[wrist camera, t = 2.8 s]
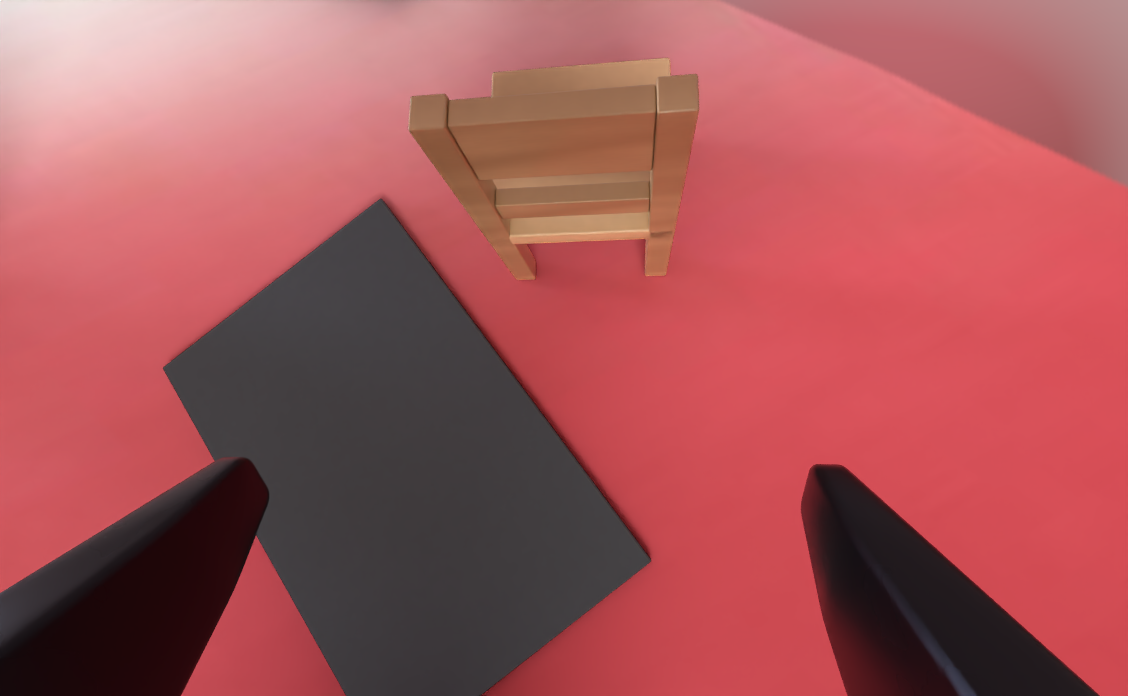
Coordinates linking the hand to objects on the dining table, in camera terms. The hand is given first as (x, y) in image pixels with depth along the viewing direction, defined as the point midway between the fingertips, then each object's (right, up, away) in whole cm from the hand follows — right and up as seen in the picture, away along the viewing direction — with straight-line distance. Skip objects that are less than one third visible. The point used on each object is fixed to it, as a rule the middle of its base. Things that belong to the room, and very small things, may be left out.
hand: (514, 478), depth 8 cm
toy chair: (+2, +8, +15) cm, 17 cm away
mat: (-7, -3, +14) cm, 16 cm away
